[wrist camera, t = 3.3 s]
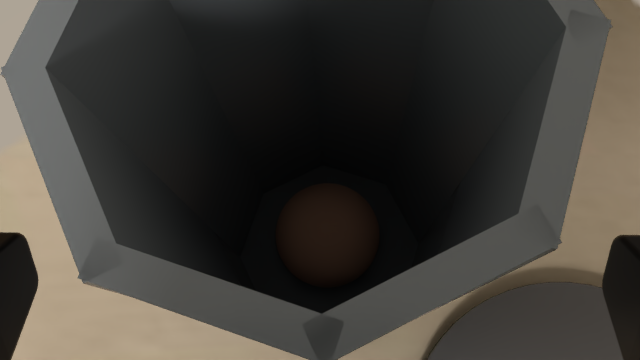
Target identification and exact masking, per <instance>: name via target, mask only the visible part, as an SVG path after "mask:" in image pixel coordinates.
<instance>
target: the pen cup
mask: <svg viewBox="0 0 640 360" xmlns="http://www.w3.org/2000/svg"><path fill="white" fill-rule="evenodd" d="M610 23H611V20H609V19H607V18H606V17H605V15H604V14H603V13H602V11H601V10H600V8H599V7H598V6H597V4H596V3H595V2H594V0H39V1H38V3H37V5H36V6H35V8H34V10H33V12H32V14H31V16H30V18H29V20H28V22H27V24H26V26H25V28H24V30H23V32H22V34H21V36H20V37H19V39H18V41H17V43H16V45H15V47H14V49H13V51H12V53H11V55H10V57H9V59H8V61H7V63H6V65H5V66H4V67H1V69H2V72H1V75H2V76H3V77H4V78H5V79H6V82H7V85H8V87H9V90H10V93H11V95H12V98H13V100H14V103H15V106H16V108H17V111H18V113H19V116H20V118H21V121H22V124H23V127H24V129H25V132H26V135H27V137H28V140H29V142H30V145H31V148H32V150H33V153H34V156H35V158H36V161H37V163H38V166H39V169H40V171H41V174H42V177H43V179H44V182H45V184H46V187H47V190H48V192H49V195H50V198H51V200H52V203H53V205H54V208H55V211H56V213H57V216H58V219H59V221H60V224H61V226H62V229H63V232H64V234H65V237H66V240H67V242H68V245H69V247H70V250H71V253H72V255H73V258H74V261H75V263H76V266H77V268H78V271H79V276H78V278H79V279H82V282H83V283H84V284H87V285H91V286H94V287H98V288H102V289H105V290H109V291H112V292H116V293H120V294H123V295H127V296H130V297H133V298H136V299H139V300H141V301H144V302H147V303H150V304H153V305H156V306H158V307H161V308H164V309H167V310H170V311H173V312H176V313H178V314H181V315H184V316H187V317H190V318H193V319H195V320H198V321H201V322H204V323H207V324H210V325H212V326H215V327H218V328H221V329H224V330H227V331H229V332H232V333H235V334H238V335H241V336H244V337H247V338H249V339H252V340H255V341H258V342H261V343H264V344H266V345H269V346H272V347H275V348H278V349H281V350H283V351H286V352H289V353H292V354H295V355H298V356H300V357H303V358H306V359H309V360H338V358H340V357H342V356H344V355H346V354H348V353H350V352H352V351H354V350H356V349H358V348H360V347H362V346H364V345H365V344H367V343H369V342H371V341H373V340H375V339H377V338H379V337H381V336H383V335H385V334H387V333H389V332H391V331H392V330H394V329H396V328H398V327H400V326H402V325H404V324H406V323H408V322H410V321H412V320H414V319H416V318H418V317H420V316H423V315H425V314H427V313H429V312H431V311H433V310H435V309H437V308H439V307H441V306H443V305H445V304H447V303H449V302H451V301H453V300H455V299H457V298H459V297H461V296H463V295H465V294H467V293H469V292H471V291H473V290H475V289H477V288H479V287H481V286H483V285H485V284H487V283H489V282H491V281H493V280H495V279H497V278H499V277H501V276H503V275H505V274H507V273H509V272H512V271H514V270H516V269H518V268H520V267H522V266H524V265H526V264H528V263H530V262H532V261H534V260H536V259H538V258H540V257H542V256H544V255H546V254H548V253H550V252H552V251H554V250H556V249H557V248H558V244H560V243H562V242H561V240H560V235H561V231H562V226H563V222H564V218H565V214H566V209H567V205H568V201H569V197H570V192H571V188H572V184H573V180H574V176H575V171H576V167H577V163H578V159H579V154H580V150H581V146H582V142H583V137H584V133H585V129H586V125H587V120H588V116H589V112H590V108H591V103H592V99H593V95H594V91H595V86H596V82H597V78H598V74H599V69H600V65H601V61H602V57H603V52H604V48H605V44H606V40H607V36H608V32H609V30H610V29H611V28H612V25H611V24H610ZM322 183H333V184H339V185H343V186H346V187H348V188H350V189H352V190H354V191H355V192H357V193H358V194H360V195H361V196H362V197H363V198H364V199H365V200H366V201H367V202H368V203H369V205H370V206H371V208H372V209H373V211H374V213H375V215H376V218H377V221H378V225H379V237H380V238H379V246H378V250H377V253H376V255H375V258H374V260H373V262H372V263H371V265H370V266H369V268H368V269H367V270H366V271H365V272H364V273H363V274H362V275H361V276H360V277H358V278H357V279H355V280H354V281H352V282H350V283H348V284H345V285H342V286H339V287H332V288H323V287H317V286H313V285H310V284H307V283H305V282H303V281H301V280H300V279H298V278H297V277H295V276H294V275H293V274H292V273H291V272H290V271H289V270H288V269H287V267H286V266H285V265H284V263H283V261H282V260H281V258H280V256H279V253H278V250H277V246H276V238H275V234H276V225H277V221H278V218H279V215H280V213H281V211H282V209H283V208H284V206H285V204H286V203H287V202H288V201H289V200H290V199H291V198H292V197H293V196H294V195H295V194H296V193H298V192H299V191H301V190H303V189H305V188H307V187H309V186H312V185H316V184H322Z"/></svg>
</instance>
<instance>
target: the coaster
mask: <svg viewBox="0 0 640 360" xmlns="http://www.w3.org/2000/svg"><path fill="white" fill-rule="evenodd" d="M427 360H623V357H622V354H621V351H620V347H619V344H618V341H617V338H616V334H615V331H614V328H613V325H612V321H611V318H610V315H609V312H608V308H607V305H606V302H605V299H604V295H603V290H602V288H600V287H596V286H592V285H586V284H578V283H570V282H548V283H540V284H533V285H527V286H523V287H520V288H516V289H513V290H509V291H506V292H504V293H502V294H499V295H497V296H495V297H492V298H490V299H488V300H486V301H484V302H483V303H481V304H479V305H478V306H476V307H474V308H473V309H471V310H470V311H468V312H467V313H466V314H465V315H464V316H462V317H461V318H460V319H459V320H457V321H456V322H455V323H454V324H453V325H452V326H451V327H450V328H449V330H448V331H447V332H446V333H445V334H444V335H443V336H442V337H441V338H440V340H439V341H438V343H437V344H436V346H435V347H434V349H433V350H432V351H431V353H430V354H429V356H428V358H427Z"/></svg>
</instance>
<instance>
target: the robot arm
mask: <svg viewBox="0 0 640 360" xmlns="http://www.w3.org/2000/svg"><path fill="white" fill-rule="evenodd" d="M37 287H38V274H37V270H36V267H35V264H34V261H33V258H32V255H31V251H30V248H29V245H28V242H27V240H26V238H25V237H24V235H22V234H20V233H3V232H0V360H11V359H12V356H13V353H14V350H15V348H16V345H17V342H18V340H19V337H20V334H21V332H22V329H23V326H24V324H25V321H26V318H27V316H28V313H29V310H30V308H31V305H32V302H33V299H34V297H35V294H36V291H37ZM602 290H603V295H604V299H605V302H606V305H607V308H608V312H609V315H610V318H611V321H612V325H613V328H614V331H615V334H616V338H617V341H618V344H619V347H620V351H621V354H622V357H623V360H640V235H619V236H617V237H616V238H615V239H614V240H613V242H612V245H611V249H610V253H609V256H608V260H607V264H606V268H605V272H604V275H603V280H602Z"/></svg>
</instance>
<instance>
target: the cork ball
mask: <svg viewBox="0 0 640 360" xmlns="http://www.w3.org/2000/svg"><path fill="white" fill-rule="evenodd" d="M275 238H276V246H277V250H278V253H279V256H280V258H281V260H282V261H283V263H284V265H285V266H286V267H287V269H288V270H289V271H290V272H291V273H292V274H293V275H294V276H295V277H297V278H298V279H300V280H301V281H303V282H305V283H307V284H310V285H313V286H317V287H323V288H332V287H339V286H342V285H345V284H348V283H350V282H352V281H354V280H355V279H357V278H358V277H360V276H361V275H362V274H363V273H364V272H365V271H366V270H367V269H368V268H369V266H370V265H371V263H372V262H373V260H374V258H375V255H376V253H377V250H378V246H379V238H380V237H379V225H378V221H377V218H376V215H375V213H374V211H373V209H372V208H371V206H370V205H369V203H368V202H367V201H366V200H365V199H364V198H363V197H362V196H361V195H360V194H358V193H357V192H355V191H354V190H352V189H350V188H348V187H346V186H343V185H339V184H333V183H322V184H316V185H312V186H309V187H307V188H305V189H303V190H301V191H299V192H298V193H296V194H295V195H294V196H293V197H292V198H291V199H290V200H289V201H288V202H287V203H286V204H285V206H284V208H283V209H282V211H281V213H280V215H279V218H278V221H277V225H276V234H275Z"/></svg>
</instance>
